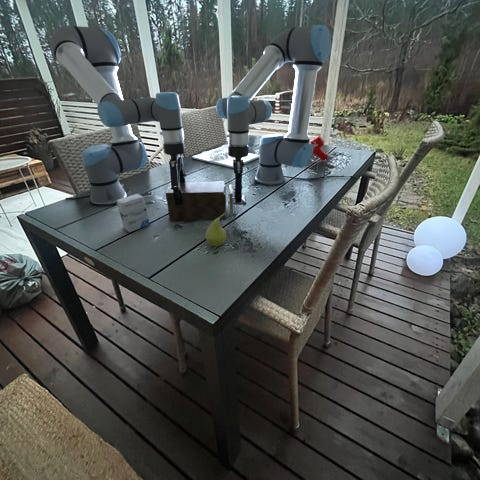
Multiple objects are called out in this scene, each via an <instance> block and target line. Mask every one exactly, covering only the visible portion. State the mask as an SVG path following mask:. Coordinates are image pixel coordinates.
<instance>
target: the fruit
mask: <svg viewBox="0 0 480 480" xmlns="http://www.w3.org/2000/svg"><path fill="white" fill-rule="evenodd" d="M225 214H226V215H227V210H226V211H225V213H224V214H223V215H225ZM223 215H221V216H220V217H219V218H216V219H215V220H212V222H211V224H210V226H209V227H208V228H207V229H206V231H205V234H204V235H205V240H206V242H207V243H208V245H209V246H211V247H216V248H217V247H220V246H222V245H224V243H225V241H226V239H227V232H226V230H225V229H224V228H223V227H222V226H221V222H220V221H221V220H220V218H221V217H222V216H223ZM226 215H225V216H226Z"/></svg>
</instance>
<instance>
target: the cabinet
mask: <svg viewBox="0 0 480 480" xmlns="http://www.w3.org/2000/svg"><path fill="white" fill-rule="evenodd" d="M224 186H225V181H223V180H221V181H220V180H219V181H218V180H217V181H185V182H180V188H181V195H182V202H183V205H175V200H174V193H173V190H171V189H170V188H171V182H170V183H169V185H168V188H167V189H166V191H165V197H166V205H167V210H168V216H169V221H170V222H188V221H189V222H191V221H214V220H215V219H216V218H219V217H220V216H221V215H223V214H224V213H225V203H224ZM225 220H226V215H223V216H222V217H221V218H220V221H225Z"/></svg>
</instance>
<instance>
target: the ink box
mask: <svg viewBox="0 0 480 480" xmlns="http://www.w3.org/2000/svg"><path fill="white" fill-rule="evenodd" d="M116 201H117V204H116V205H117V208H118V212H119V216H120V219H121V222H122V223H121V224H122V226H123V228H124V230H126V232H128V233H132V232H134V231H137V230H140V229H142V228H145V227H148V226H149V225H150V224H151V223H150V219H149V215H148V210H147V205H146V201H145V197H144V196H142V195H141V194H140V193H135V194H132V195H129V196H128V195H127V197H125V198H122V199H118V200H116Z"/></svg>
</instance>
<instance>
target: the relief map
mask: <svg viewBox="0 0 480 480" xmlns="http://www.w3.org/2000/svg"><path fill="white" fill-rule="evenodd" d="M228 145H229V144H226V143H224V144H223V145H221V146H219V147H216V148H214V149H210V150H208V151H202V152H201V153H199V154H196V155H193V156H192V159H194V160H197V161H202V162H206V163H211V164H216V165H218V166H223V167H228V168H232V169H234V166H233V159H235V157H230V156H229V155H228ZM242 159H243V161H244V165H245V164H248V163H250V162H252V161H255V160H257V159H259V154H257V153H256V154H255V153H250V152H248V156H246V157H242Z"/></svg>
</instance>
